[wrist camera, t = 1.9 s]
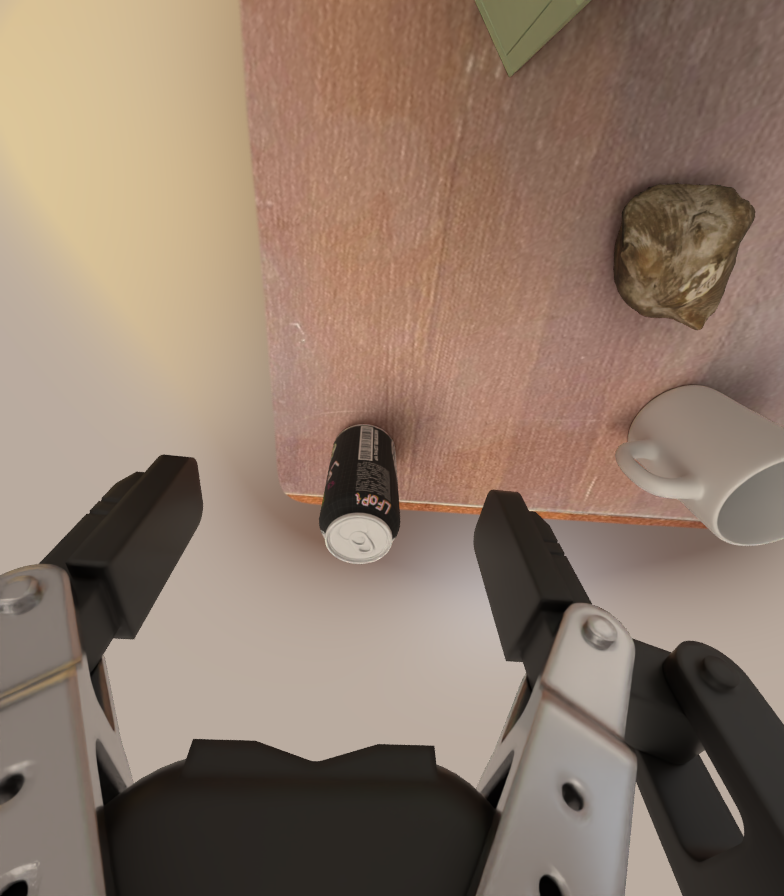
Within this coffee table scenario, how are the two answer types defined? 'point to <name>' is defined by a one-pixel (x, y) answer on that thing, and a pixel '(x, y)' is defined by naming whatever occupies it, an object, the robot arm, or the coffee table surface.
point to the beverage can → (361, 496)
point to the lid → (579, 2)
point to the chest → (524, 26)
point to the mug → (711, 462)
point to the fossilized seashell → (679, 249)
